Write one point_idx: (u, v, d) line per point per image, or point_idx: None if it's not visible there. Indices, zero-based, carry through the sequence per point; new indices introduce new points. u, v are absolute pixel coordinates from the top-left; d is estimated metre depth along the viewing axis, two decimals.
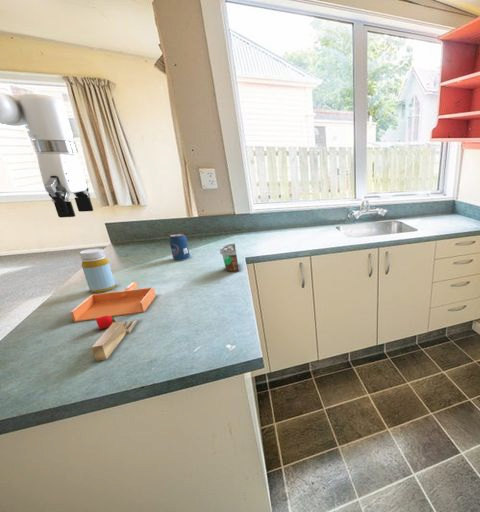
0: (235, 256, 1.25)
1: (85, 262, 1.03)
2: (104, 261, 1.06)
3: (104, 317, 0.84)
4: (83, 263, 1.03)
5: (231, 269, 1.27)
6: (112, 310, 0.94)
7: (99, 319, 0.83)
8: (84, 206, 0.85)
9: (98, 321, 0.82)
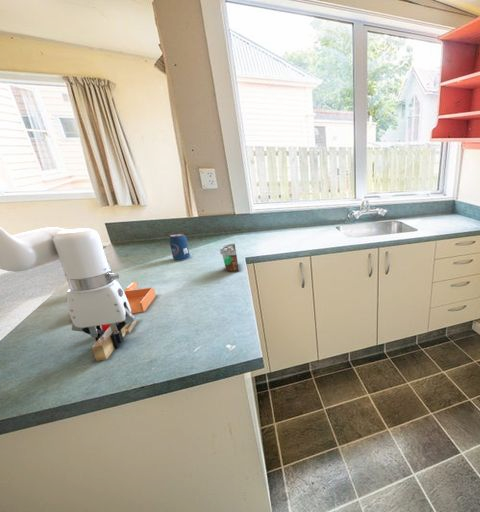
0: (235, 256, 1.25)
1: None
2: None
3: None
4: None
5: (231, 269, 1.27)
6: None
7: None
8: None
9: None
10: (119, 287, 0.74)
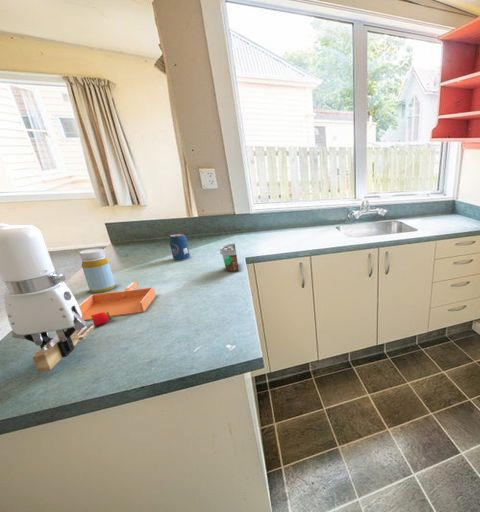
0: (235, 256, 1.25)
1: (85, 262, 1.03)
2: (104, 261, 1.06)
3: None
4: (83, 263, 1.03)
5: (231, 269, 1.27)
6: (112, 310, 0.94)
7: None
8: None
9: None
10: (66, 290, 0.67)
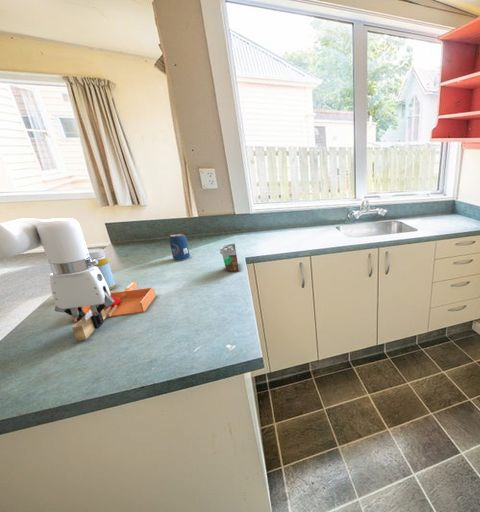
0: (235, 256, 1.25)
1: None
2: (104, 261, 1.06)
3: None
4: None
5: (231, 269, 1.27)
6: None
7: None
8: None
9: None
10: (99, 272, 0.81)
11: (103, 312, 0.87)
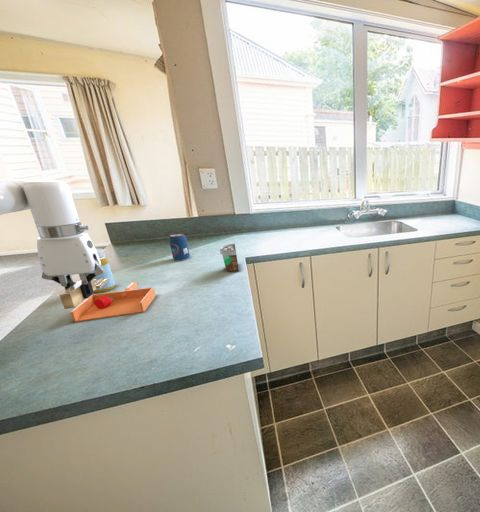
0: (235, 256, 1.25)
1: None
2: (104, 261, 1.06)
3: (108, 299, 0.95)
4: None
5: (231, 269, 1.27)
6: (112, 310, 0.94)
7: (105, 301, 0.94)
8: None
9: (105, 303, 0.94)
10: (89, 239, 0.77)
11: (93, 283, 0.84)
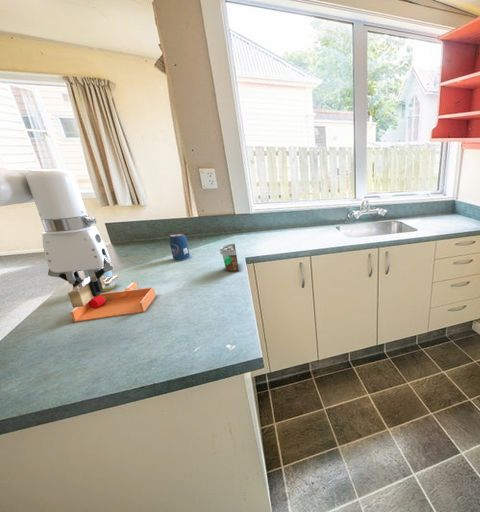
0: (235, 256, 1.25)
1: None
2: None
3: None
4: None
5: (231, 269, 1.27)
6: (112, 310, 0.94)
7: (93, 298, 0.94)
8: None
9: (93, 298, 0.94)
10: (97, 233, 0.72)
11: (102, 280, 0.79)
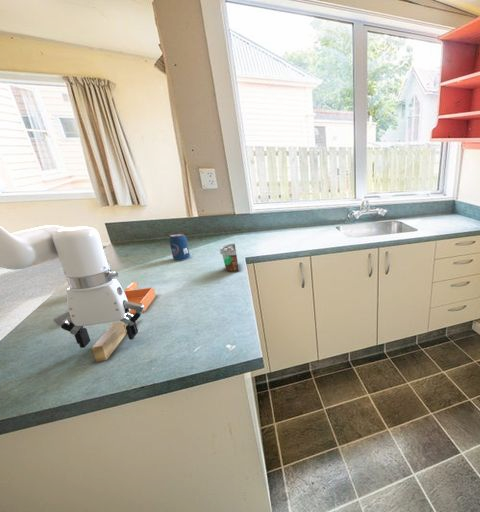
0: (235, 256, 1.25)
1: None
2: None
3: None
4: None
5: (231, 269, 1.27)
6: None
7: None
8: None
9: None
10: (118, 285, 0.73)
11: (123, 329, 0.80)
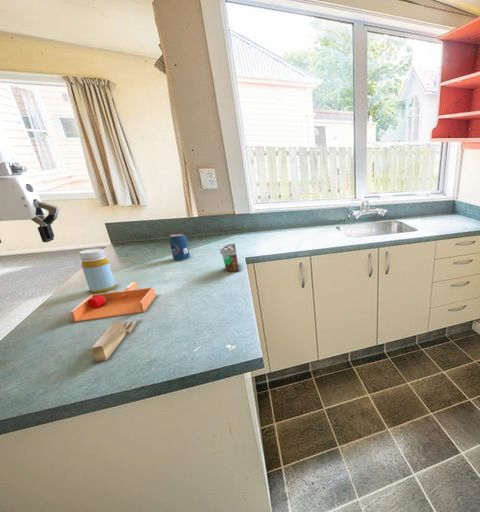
0: (235, 256, 1.25)
1: (85, 262, 1.03)
2: (104, 261, 1.06)
3: (96, 296, 0.95)
4: (83, 263, 1.03)
5: (231, 269, 1.27)
6: (112, 310, 0.94)
7: (93, 298, 0.94)
8: None
9: (93, 298, 0.94)
10: (28, 182, 0.71)
11: (123, 329, 0.80)
